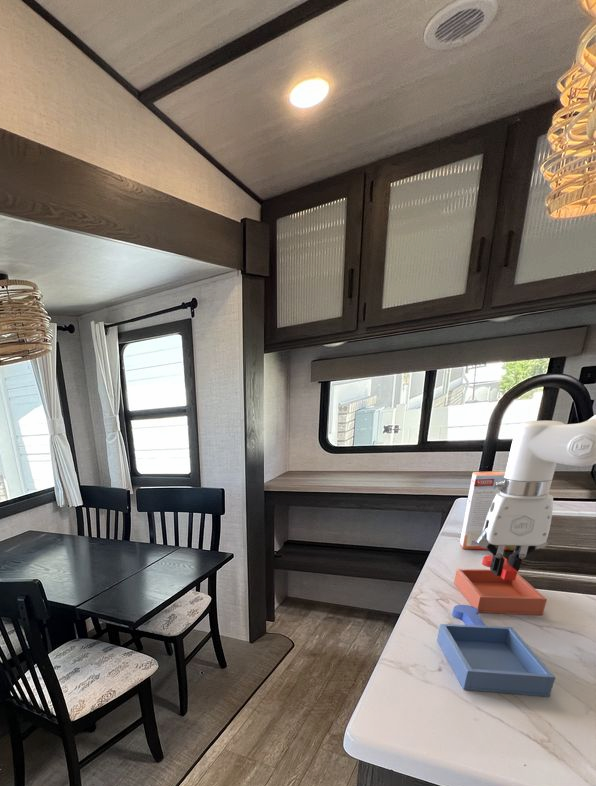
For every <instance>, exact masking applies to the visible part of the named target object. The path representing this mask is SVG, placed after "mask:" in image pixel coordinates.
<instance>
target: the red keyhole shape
mask: <svg viewBox="0 0 596 786" xmlns="http://www.w3.org/2000/svg"><path fill="white" fill-rule="evenodd" d="M492 558H493V554H491V555H490V554H489V555H483V558H482V561H481V565H482V566H484V567H486V568H490V566H491V562H492ZM503 558H504V559H505V560H504V564H503V568H502V571H501V575H500V576H501V577H502V578H503V579H504V580H515V579H516V575H517V573H518V571H516V570H515V569H514V568H513V567H512V566H511V565H510V564H508V559H507V558H506V557H504V556H503Z"/></svg>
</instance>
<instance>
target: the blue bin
mask: <svg viewBox="0 0 596 786" xmlns="http://www.w3.org/2000/svg"><path fill="white" fill-rule="evenodd" d="M437 632H438V633H437V638H436V641H437V643H438V645H439V647H440V648H441V651H442V652H443V655H444V656H445V658H446V660H447V662H448V664H449V665H450V668H451V669H452V671H453V672H454V675H455V676H456V678H457V680H458V683H459V684H460V686H461V688H462V690H463V691H473V692H485V693H499V694H511V695H521V696H522V695H524V696H532V697H533V696H535V697H546V698H550V696H551V693H552V689H553V687H554V683H555V680H556V676H555V675H554V674H553V673H552V671H551V670H549V668H548V667H547V666H546V665H545V663H544V662H543V661H542V660H541V658H539V657H538V655H537V654H536V653H535V652H534V651H533V650H532V648H531V647H530V646H529V645H528V644H527V642H525V640H524V639H523V638H522V637H521V636H520V634H518V632H517V631H516V630H515V629H514V628H513V627H512V626H497V625H486V626H476V625H466V624H454V623H453V624H452V623H451V624H450V623H439V628H438V631H437Z"/></svg>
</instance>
